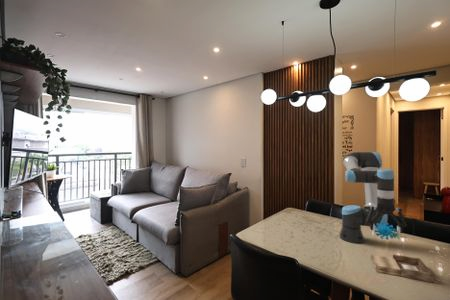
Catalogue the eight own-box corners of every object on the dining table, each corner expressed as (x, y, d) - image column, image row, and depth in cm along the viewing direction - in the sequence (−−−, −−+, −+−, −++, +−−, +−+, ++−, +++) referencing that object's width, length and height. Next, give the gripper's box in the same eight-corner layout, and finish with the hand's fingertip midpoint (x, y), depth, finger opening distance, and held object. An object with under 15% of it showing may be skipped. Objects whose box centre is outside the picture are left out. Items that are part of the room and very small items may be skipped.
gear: (370, 233, 120) (377, 218, 123) (372, 238, 123) (378, 223, 126) (394, 242, 111) (400, 226, 115) (395, 247, 114) (401, 231, 118)
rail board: (376, 272, 113) (376, 264, 113) (370, 257, 128) (370, 250, 128) (433, 282, 104) (433, 274, 104) (419, 265, 118) (419, 258, 118)
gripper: (362, 197, 118) (362, 236, 119) (415, 200, 109) (415, 243, 109) (359, 194, 125) (360, 231, 126) (409, 197, 116) (409, 237, 116)
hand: (385, 237), depth 118 cm, fingers closed on gear, 11 cm apart
